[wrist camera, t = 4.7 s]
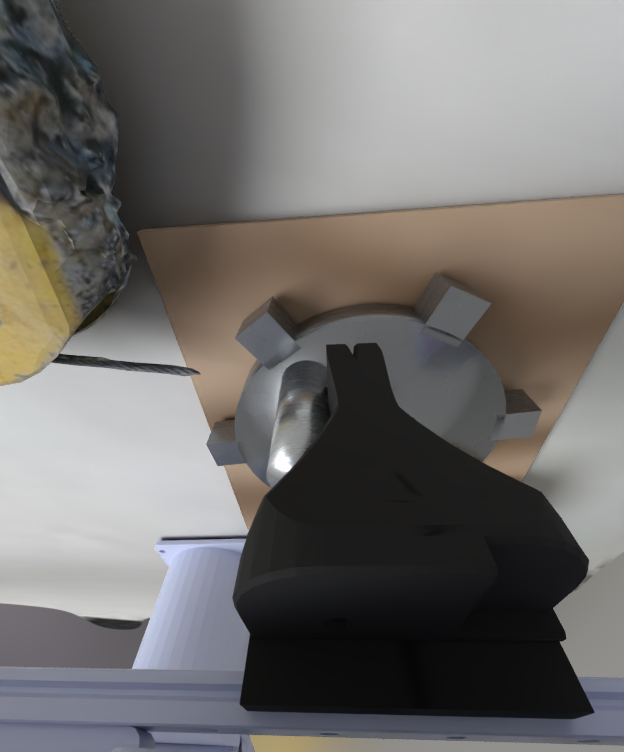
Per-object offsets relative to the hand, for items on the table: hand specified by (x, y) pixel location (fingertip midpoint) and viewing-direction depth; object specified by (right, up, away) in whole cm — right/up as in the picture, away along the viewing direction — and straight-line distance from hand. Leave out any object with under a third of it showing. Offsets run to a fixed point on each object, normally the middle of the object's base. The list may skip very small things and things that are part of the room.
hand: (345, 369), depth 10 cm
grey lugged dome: (+1, -2, +5) cm, 6 cm away
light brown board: (+2, -3, +6) cm, 7 cm away
